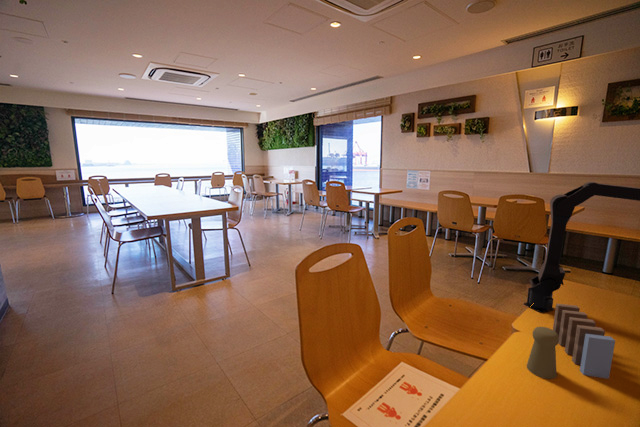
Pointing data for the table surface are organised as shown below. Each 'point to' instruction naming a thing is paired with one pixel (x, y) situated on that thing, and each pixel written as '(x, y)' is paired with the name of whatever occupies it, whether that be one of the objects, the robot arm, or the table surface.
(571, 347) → the walnut tile
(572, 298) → the table surface
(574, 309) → the walnut tile
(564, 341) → the walnut tile
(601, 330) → the walnut tile
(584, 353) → the slate end tile
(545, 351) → the pepper shaker
